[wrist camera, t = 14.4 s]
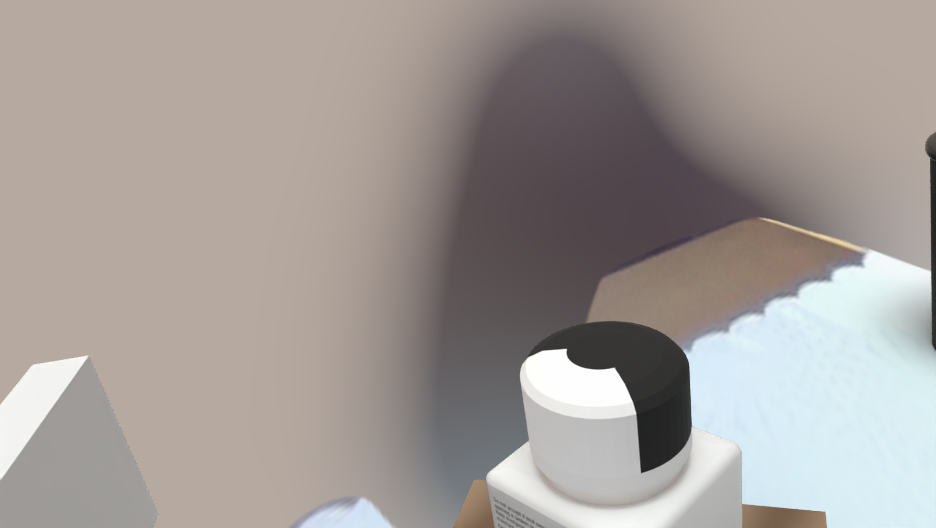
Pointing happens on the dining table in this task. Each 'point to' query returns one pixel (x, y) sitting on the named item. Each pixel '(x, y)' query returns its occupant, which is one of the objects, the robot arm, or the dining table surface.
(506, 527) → the container
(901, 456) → the dining table surface
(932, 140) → the drinking cup
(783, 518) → the serving board
